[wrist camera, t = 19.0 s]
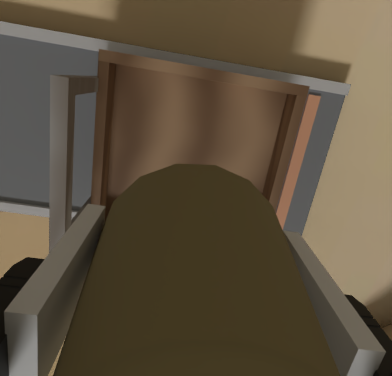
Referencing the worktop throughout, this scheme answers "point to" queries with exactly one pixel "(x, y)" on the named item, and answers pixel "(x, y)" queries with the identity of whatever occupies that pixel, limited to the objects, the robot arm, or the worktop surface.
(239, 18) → the worktop surface
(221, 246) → the squeeze bottle
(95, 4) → the worktop surface
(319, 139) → the track
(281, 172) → the cart
